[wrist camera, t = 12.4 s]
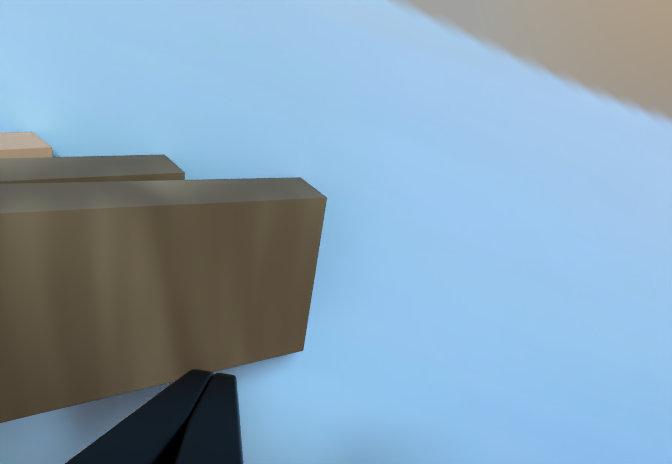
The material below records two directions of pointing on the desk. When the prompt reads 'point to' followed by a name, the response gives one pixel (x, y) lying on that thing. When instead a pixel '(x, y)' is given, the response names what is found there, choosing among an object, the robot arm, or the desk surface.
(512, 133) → the desk surface
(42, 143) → the domino
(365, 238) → the desk surface
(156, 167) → the domino
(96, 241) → the domino
